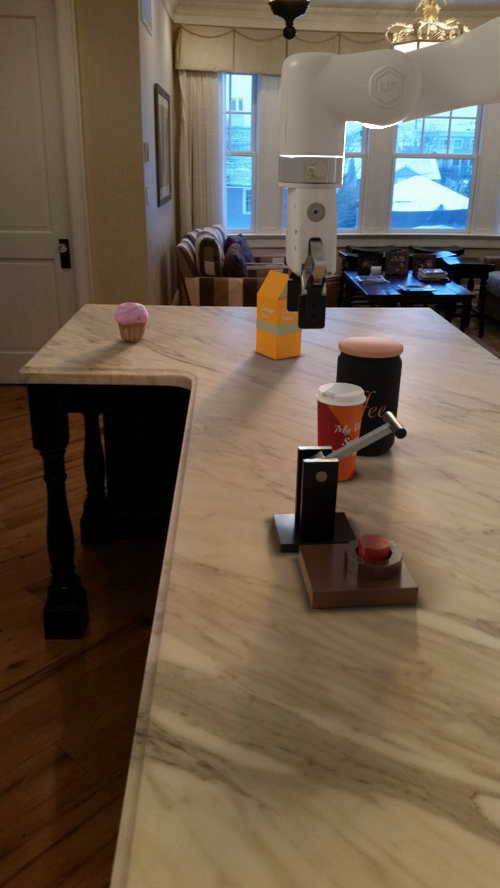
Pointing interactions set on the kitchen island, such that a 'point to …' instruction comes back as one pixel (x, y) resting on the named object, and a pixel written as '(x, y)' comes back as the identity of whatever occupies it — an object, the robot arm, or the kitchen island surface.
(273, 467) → the kitchen island surface
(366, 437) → the tap lever
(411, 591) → the button block
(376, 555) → the button
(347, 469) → the paper cup
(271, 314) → the orange juice
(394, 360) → the coffee jar
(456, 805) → the kitchen island surface
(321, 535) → the bracket
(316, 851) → the kitchen island surface
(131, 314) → the cupcake
